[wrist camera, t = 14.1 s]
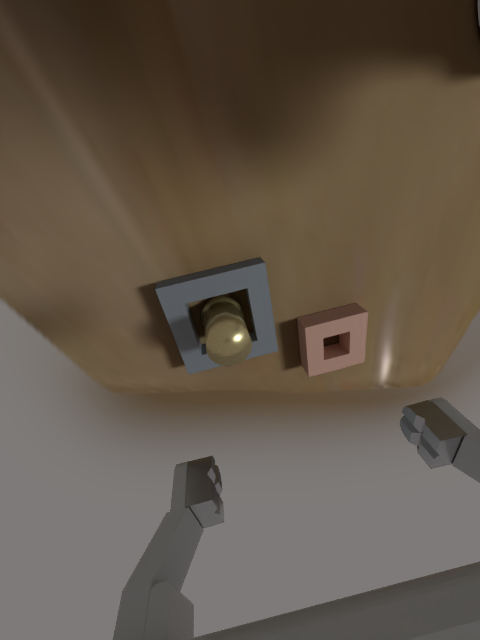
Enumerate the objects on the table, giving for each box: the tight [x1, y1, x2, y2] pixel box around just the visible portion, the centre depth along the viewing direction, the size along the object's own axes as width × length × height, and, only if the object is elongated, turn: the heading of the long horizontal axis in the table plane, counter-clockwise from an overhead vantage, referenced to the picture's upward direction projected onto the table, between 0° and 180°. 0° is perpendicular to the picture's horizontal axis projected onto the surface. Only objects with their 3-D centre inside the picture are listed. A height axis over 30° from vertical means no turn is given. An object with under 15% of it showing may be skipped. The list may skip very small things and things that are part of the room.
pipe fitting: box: [201, 295, 252, 366], centre depth 30 cm, size 6×6×8 cm
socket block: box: [155, 257, 278, 374], centre depth 33 cm, size 13×13×2 cm
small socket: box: [297, 303, 368, 377], centre depth 37 cm, size 9×9×3 cm
